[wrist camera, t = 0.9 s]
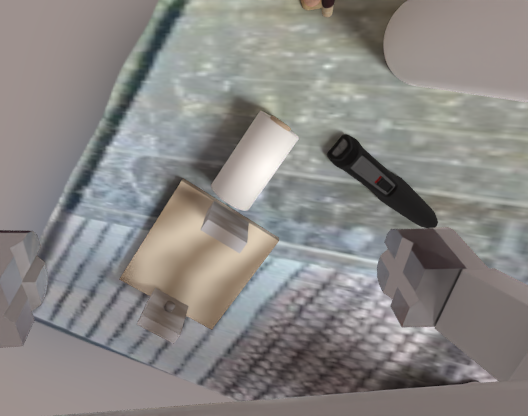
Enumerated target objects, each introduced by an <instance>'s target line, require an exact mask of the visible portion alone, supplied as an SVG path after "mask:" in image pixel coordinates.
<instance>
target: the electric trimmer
mask: <svg viewBox="0 0 528 416" xmlns="http://www.w3.org/2000/svg"><path fill="white" fill-rule="evenodd" d="M328 157H329V158H330V159H331V161H332V162H333V164H334V165H336V166H337V167H339V168H341V169H343V170H344V171H346V172H347V173H348V174H350V175H351V176H353V177H354V178H355V179H357V180H358V181H360V182H361V183H362V184H364V185H365V186H366V187H368V188H369V189H370V190H371V191H373V192H374V193H375V194H376V195H377V196H378V198H379V199H380V200H381V201H382V202H384V203H385V204H386V205H388V206H389V207H391V208H392V209H394V210H396V211H397V212H399V213H400V214H402V215H403V216H405V217H406V218H408V219H409V220H411V221H412V222H414V223H416V224H417V225H419V226H421V227H425V228H435V227H436V226H437V223H438V221H437V218H436V215H435V213H434V211H433V210H432V209H431V208H430V207H429V206H428V205H427V204H426V203H425V201H424V200H423V199H422V198H421V197H420V196H419V195H418V194H417V193H416V192H415V191H414V190H413V189H412V188H411V187H410V186H409V185H408V184H407V183H406V182H405V181H404V180H403V179H402V178H400V177H398V176H395V175H394V174H392V173H391V172H390V171H388V170H387V169H386V168H385V167H384V166H382V165H381V164H380V163H379V162H378V161H377V160H376V159H374V158H373V157H372V156H371V155H370V154H369V153H368V152H367V151H366V150H365V149H363V148H362V146H361V145H360V143H359V142H358V141H357V140H356V139H355V138H353V137H351V136H348V135H346V134H344V135H342V137H341V138H340V139H339V140H338V141H337V142H336V144H335V145H334V146H333V147H332V148H331V150H330V151H329V152H328Z"/></svg>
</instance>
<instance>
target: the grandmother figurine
mask: <svg viewBox="0 0 528 416" xmlns="http://www.w3.org/2000/svg"><path fill="white" fill-rule="evenodd" d="M301 4H302V7H303V8H304V9H305V10H314V9H319V8H322V14H323V16H324V17H330V16H331V15H332V13H333V5H334V0H301Z"/></svg>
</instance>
